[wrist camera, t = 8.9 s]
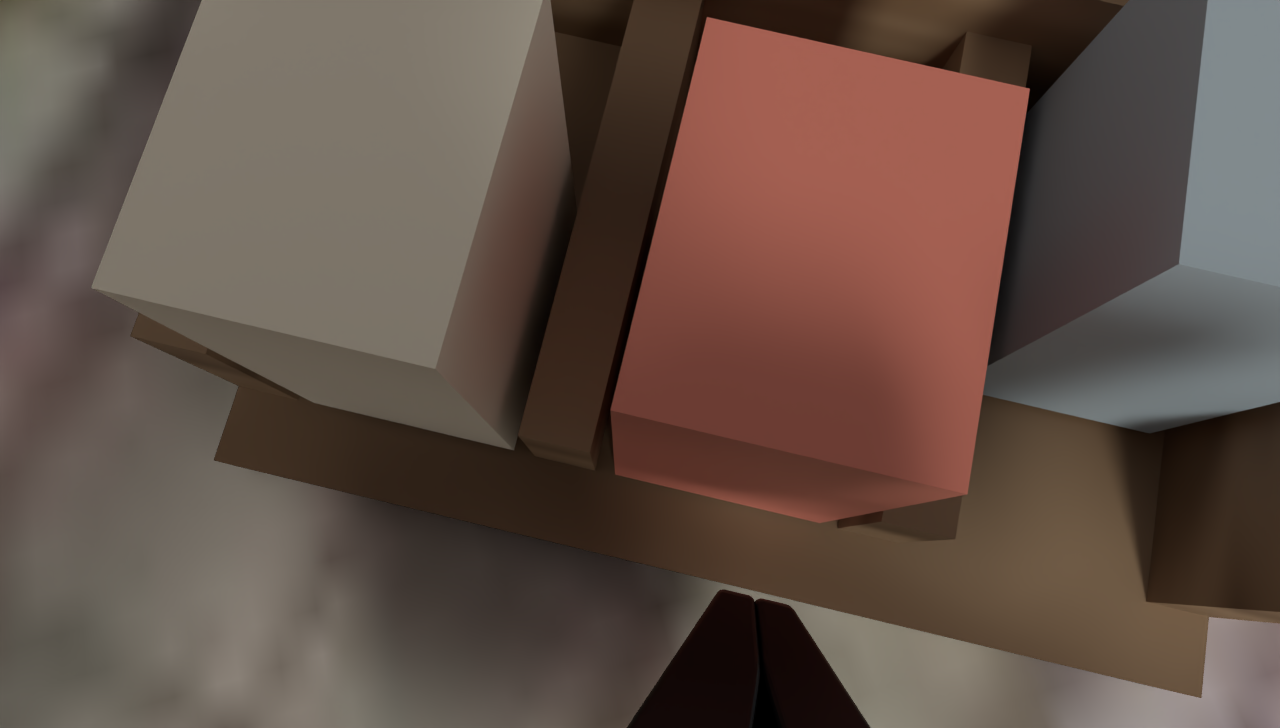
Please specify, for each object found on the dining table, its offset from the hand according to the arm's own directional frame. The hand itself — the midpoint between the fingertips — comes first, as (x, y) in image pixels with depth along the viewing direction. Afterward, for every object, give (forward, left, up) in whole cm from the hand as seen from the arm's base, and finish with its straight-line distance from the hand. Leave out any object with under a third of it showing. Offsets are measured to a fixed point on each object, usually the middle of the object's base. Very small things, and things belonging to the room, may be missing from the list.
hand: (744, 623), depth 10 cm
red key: (+3, +3, -7) cm, 8 cm away
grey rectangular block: (+10, 0, -7) cm, 12 cm away
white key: (-1, +7, -7) cm, 10 cm away
